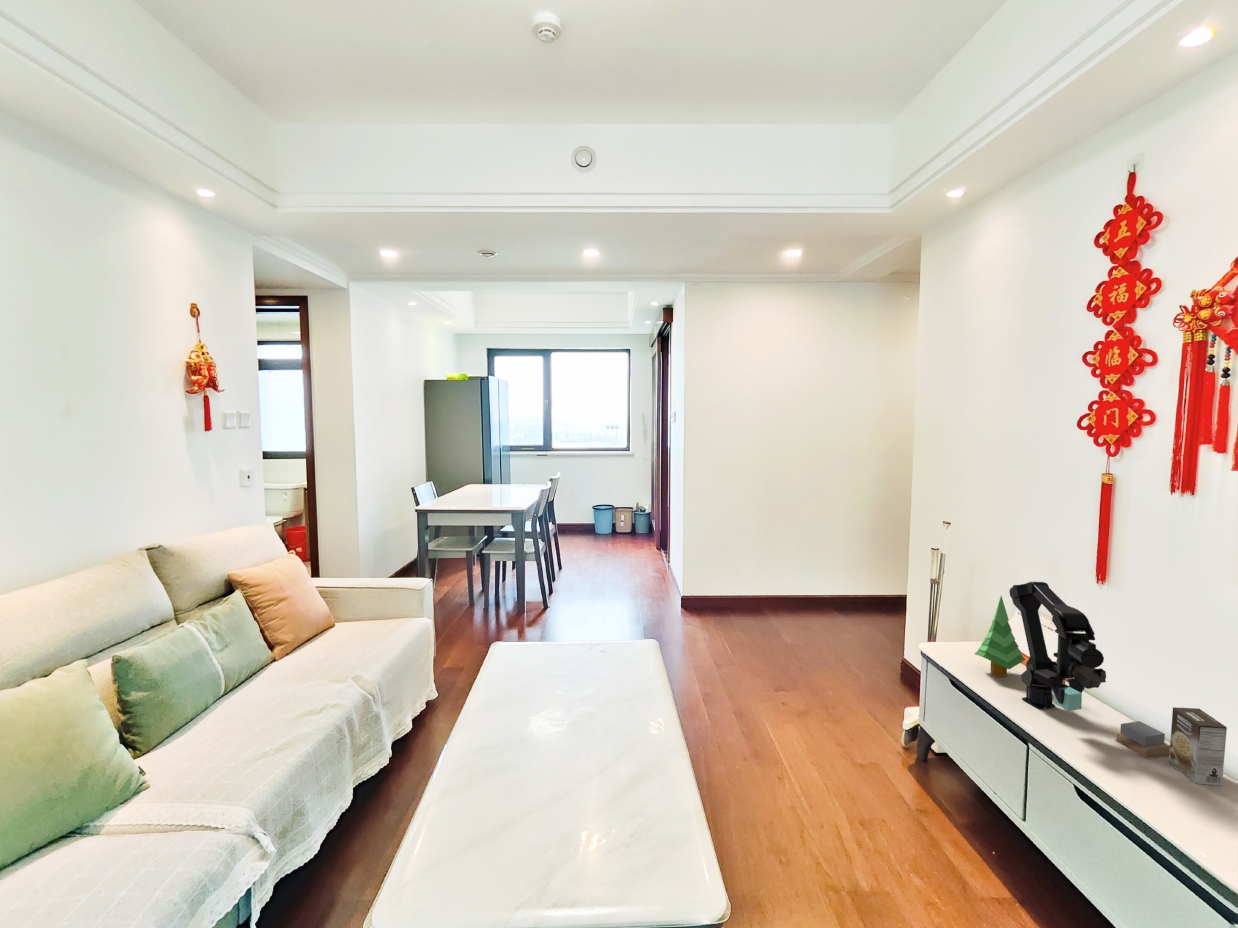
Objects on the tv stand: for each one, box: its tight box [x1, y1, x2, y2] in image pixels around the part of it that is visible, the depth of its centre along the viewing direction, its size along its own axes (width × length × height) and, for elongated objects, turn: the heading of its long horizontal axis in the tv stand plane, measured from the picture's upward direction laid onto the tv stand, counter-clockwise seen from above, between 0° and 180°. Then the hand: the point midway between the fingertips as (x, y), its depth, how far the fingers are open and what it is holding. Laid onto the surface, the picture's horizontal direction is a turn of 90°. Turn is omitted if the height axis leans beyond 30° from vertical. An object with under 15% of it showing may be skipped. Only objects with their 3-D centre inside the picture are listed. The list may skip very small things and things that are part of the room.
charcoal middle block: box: [1119, 720, 1166, 747], centre depth 157 cm, size 6×6×3 cm
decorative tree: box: [974, 595, 1026, 678], centre depth 201 cm, size 14×16×30 cm
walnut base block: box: [1115, 732, 1170, 759], centre depth 157 cm, size 8×8×3 cm
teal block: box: [1053, 687, 1083, 712], centre depth 166 cm, size 4×4×5 cm
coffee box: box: [1168, 706, 1228, 786], centre depth 145 cm, size 9×6×16 cm
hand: (1067, 702), depth 166 cm, fingers closed on teal block, 4 cm apart
